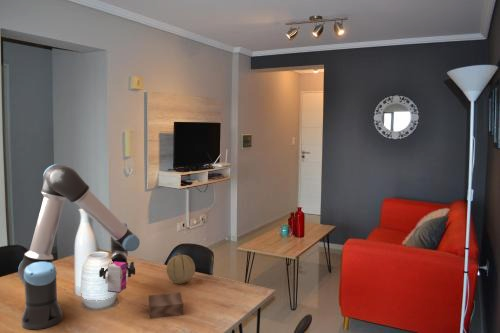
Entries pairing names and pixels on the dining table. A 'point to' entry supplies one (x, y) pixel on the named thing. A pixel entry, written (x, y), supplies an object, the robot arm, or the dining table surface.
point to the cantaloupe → (180, 268)
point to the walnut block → (165, 305)
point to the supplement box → (116, 277)
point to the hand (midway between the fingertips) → (116, 279)
